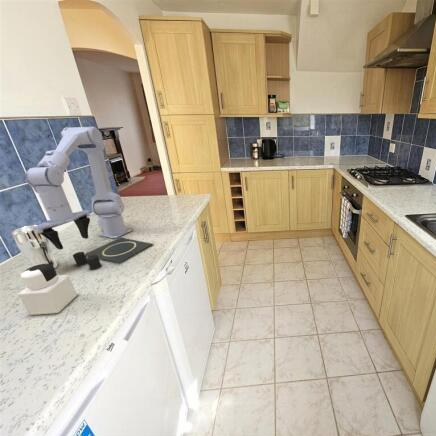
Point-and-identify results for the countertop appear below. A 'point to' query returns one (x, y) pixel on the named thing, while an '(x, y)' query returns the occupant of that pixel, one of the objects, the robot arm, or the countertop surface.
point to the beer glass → (33, 246)
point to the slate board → (119, 250)
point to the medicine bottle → (46, 290)
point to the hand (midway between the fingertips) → (73, 243)
